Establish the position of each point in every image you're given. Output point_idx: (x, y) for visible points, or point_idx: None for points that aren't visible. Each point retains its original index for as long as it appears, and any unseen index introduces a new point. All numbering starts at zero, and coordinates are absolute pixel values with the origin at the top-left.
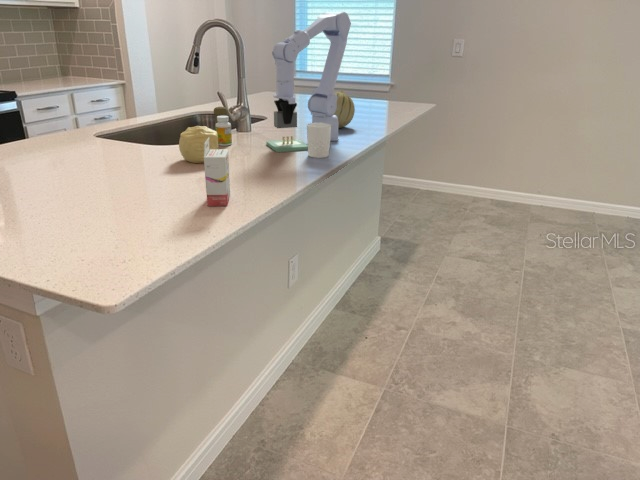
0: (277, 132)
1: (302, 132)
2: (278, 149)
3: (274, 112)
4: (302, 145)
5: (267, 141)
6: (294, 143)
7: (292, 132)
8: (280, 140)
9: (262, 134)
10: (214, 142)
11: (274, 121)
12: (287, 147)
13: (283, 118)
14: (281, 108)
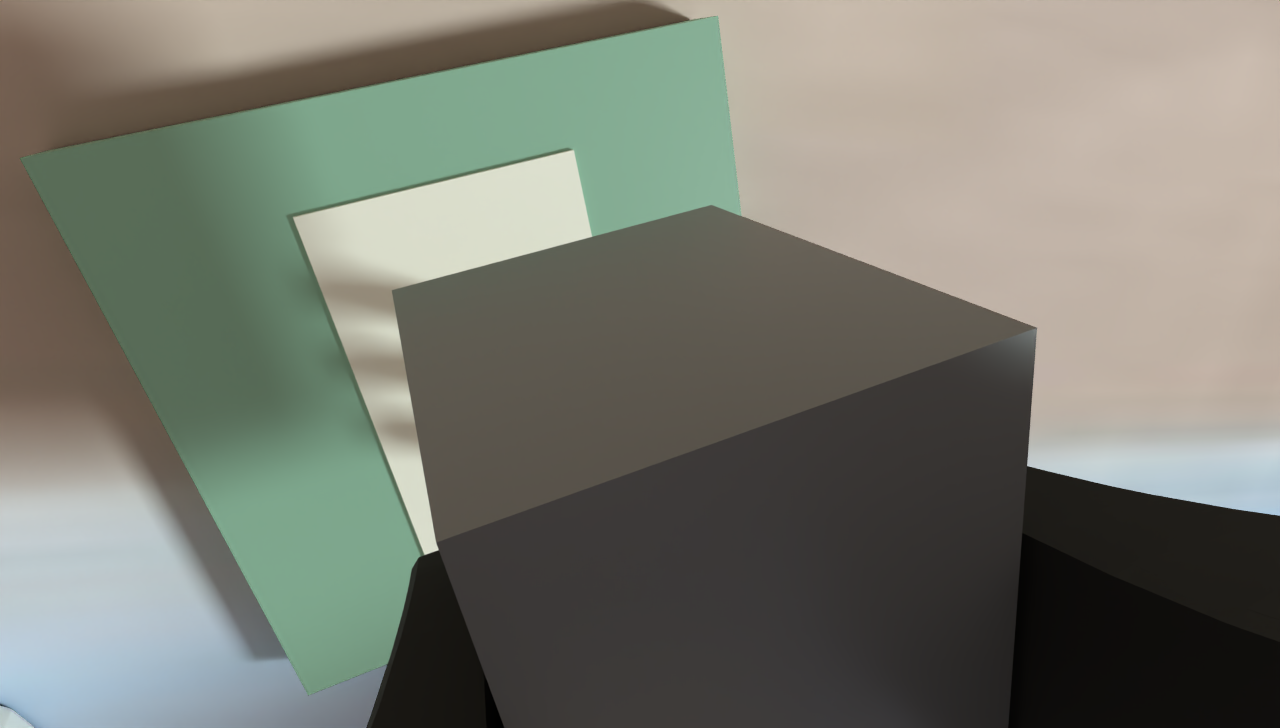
0: (1266, 247)
1: None
2: (49, 197)
3: (913, 351)
4: (360, 595)
5: (702, 36)
6: None
7: (1202, 409)
8: None
9: (1262, 44)
10: None
11: (730, 245)
12: (180, 376)
13: None
14: (1128, 708)
